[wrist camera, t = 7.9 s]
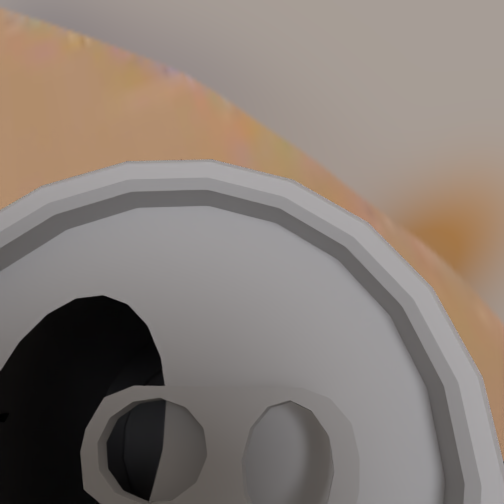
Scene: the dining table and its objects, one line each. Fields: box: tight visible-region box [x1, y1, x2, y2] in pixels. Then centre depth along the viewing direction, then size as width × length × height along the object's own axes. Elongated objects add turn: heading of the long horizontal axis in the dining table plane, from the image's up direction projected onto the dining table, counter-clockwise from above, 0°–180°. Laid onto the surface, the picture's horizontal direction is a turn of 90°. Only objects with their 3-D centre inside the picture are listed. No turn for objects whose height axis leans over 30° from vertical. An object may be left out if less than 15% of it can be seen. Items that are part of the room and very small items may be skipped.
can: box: [0, 159, 504, 504], centre depth 9 cm, size 8×8×12 cm
